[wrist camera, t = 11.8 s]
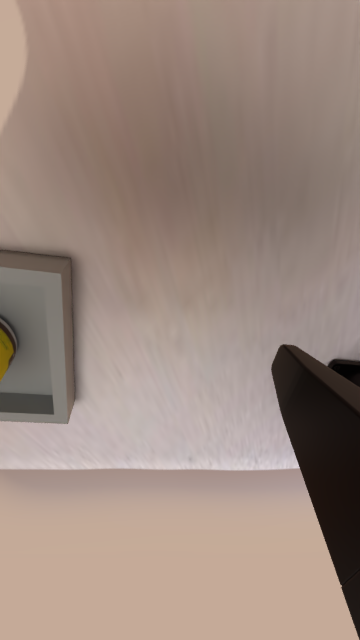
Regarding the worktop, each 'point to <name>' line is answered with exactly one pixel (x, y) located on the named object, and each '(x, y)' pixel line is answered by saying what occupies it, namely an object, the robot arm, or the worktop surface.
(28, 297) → the tray
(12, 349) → the supplement bottle
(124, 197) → the worktop surface
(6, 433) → the worktop surface
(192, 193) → the worktop surface
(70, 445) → the worktop surface
